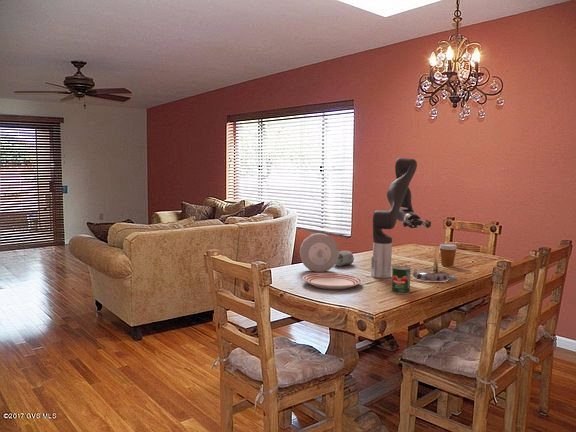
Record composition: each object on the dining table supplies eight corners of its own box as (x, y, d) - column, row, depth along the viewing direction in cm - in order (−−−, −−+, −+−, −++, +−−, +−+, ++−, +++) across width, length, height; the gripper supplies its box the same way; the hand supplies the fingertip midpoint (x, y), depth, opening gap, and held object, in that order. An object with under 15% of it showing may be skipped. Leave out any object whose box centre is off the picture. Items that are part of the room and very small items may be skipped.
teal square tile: (450, 279, 228) (450, 277, 228) (447, 278, 231) (447, 275, 231) (456, 279, 228) (456, 276, 228) (453, 277, 231) (453, 275, 231)
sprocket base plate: (419, 283, 220) (420, 281, 220) (407, 275, 237) (407, 273, 237) (454, 282, 221) (454, 281, 221) (440, 274, 238) (440, 273, 238)
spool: (342, 262, 250) (339, 245, 254) (330, 268, 256) (327, 251, 260) (359, 266, 258) (356, 249, 262) (347, 271, 265) (344, 254, 269)
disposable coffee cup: (444, 267, 256) (445, 246, 254) (435, 264, 265) (435, 243, 264) (459, 267, 258) (460, 245, 257) (449, 263, 267) (450, 243, 266)
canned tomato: (406, 289, 207) (407, 265, 206) (412, 294, 199) (413, 269, 198) (389, 289, 207) (390, 265, 206) (393, 294, 199) (394, 269, 198)
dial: (300, 273, 236) (300, 235, 234) (298, 269, 248) (299, 232, 246) (340, 274, 237) (341, 235, 235) (336, 269, 249) (337, 232, 247)
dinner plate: (324, 275, 234) (324, 269, 234) (372, 284, 217) (372, 277, 217) (290, 285, 213) (290, 278, 213) (340, 296, 196) (340, 288, 195)
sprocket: (440, 282, 217) (441, 253, 216) (407, 277, 228) (408, 249, 227) (453, 276, 230) (455, 249, 228) (421, 271, 241) (422, 245, 239)
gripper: (399, 213, 255) (406, 219, 240) (425, 213, 255) (434, 219, 239) (398, 226, 257) (406, 233, 241) (424, 226, 257) (433, 233, 241)
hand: (420, 226), depth 240 cm, fingers open, 8 cm apart
